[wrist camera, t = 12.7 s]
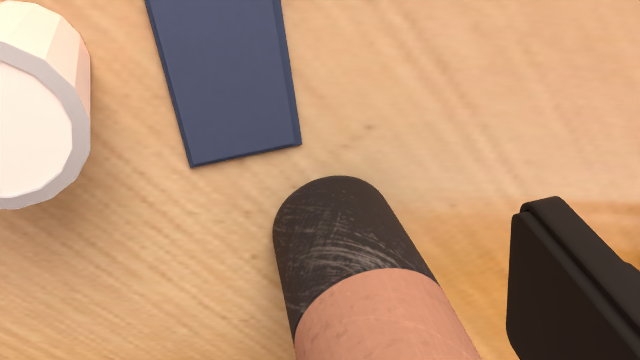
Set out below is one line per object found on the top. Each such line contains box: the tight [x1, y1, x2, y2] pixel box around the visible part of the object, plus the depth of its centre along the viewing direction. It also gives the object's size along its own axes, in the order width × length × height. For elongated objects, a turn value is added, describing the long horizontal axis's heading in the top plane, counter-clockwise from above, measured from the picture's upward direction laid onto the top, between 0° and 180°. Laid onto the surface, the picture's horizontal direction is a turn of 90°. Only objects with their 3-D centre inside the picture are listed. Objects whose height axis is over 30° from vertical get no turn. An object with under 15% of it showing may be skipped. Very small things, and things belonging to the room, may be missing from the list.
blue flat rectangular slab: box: [145, 0, 302, 168], centre depth 28 cm, size 6×14×1 cm, turn 6°
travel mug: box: [273, 176, 482, 360], centre depth 28 cm, size 8×8×20 cm
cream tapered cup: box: [0, 0, 91, 209], centre depth 25 cm, size 7×7×7 cm
